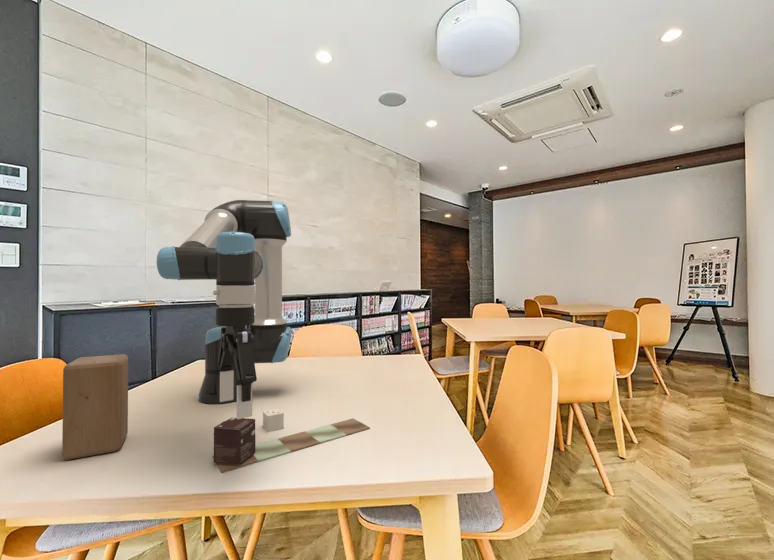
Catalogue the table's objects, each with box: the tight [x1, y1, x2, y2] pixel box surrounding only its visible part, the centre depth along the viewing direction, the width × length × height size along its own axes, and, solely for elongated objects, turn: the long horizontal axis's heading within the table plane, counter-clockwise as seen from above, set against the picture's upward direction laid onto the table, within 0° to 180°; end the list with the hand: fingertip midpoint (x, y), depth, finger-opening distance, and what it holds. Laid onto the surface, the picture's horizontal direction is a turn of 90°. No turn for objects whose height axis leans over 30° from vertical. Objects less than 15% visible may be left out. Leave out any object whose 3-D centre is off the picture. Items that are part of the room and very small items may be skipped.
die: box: [262, 408, 285, 433], centre depth 92 cm, size 4×4×4 cm
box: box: [213, 417, 256, 465], centre depth 75 cm, size 6×6×7 cm
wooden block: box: [61, 353, 129, 460], centre depth 81 cm, size 10×10×20 cm
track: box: [212, 417, 371, 474], centre depth 83 cm, size 8×35×1 cm, turn 128°
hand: (234, 408), depth 75 cm, fingers open, 13 cm apart
